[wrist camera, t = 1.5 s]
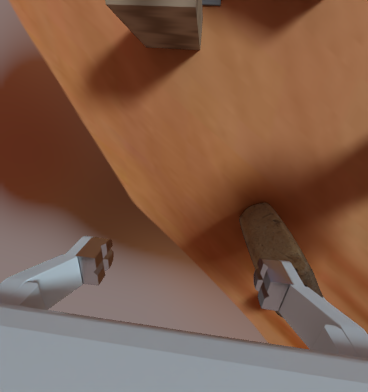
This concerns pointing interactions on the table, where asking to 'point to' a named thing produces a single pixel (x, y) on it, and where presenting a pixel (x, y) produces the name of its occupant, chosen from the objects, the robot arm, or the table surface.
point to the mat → (211, 2)
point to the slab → (162, 21)
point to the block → (274, 242)
